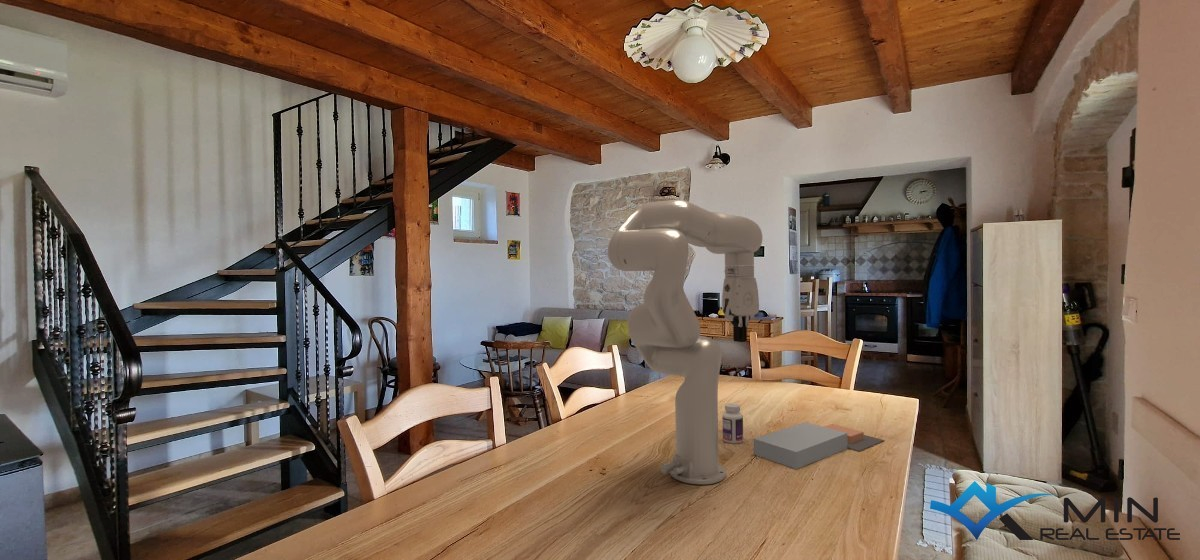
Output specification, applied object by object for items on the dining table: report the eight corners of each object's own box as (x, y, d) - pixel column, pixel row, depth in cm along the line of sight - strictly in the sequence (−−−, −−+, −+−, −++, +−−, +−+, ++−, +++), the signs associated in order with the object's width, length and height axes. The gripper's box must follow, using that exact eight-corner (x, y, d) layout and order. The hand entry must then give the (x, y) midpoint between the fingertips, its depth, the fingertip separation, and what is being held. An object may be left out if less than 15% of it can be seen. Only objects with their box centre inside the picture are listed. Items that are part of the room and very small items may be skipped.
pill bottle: (741, 437, 142) (740, 402, 141) (744, 444, 136) (744, 407, 136) (721, 437, 142) (720, 402, 142) (724, 443, 137) (723, 407, 137)
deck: (796, 469, 119) (796, 452, 119) (753, 454, 129) (753, 438, 129) (847, 448, 132) (847, 433, 131) (805, 436, 141) (805, 422, 141)
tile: (863, 432, 137) (863, 439, 137) (832, 423, 145) (832, 430, 145) (850, 436, 134) (850, 443, 134) (819, 427, 142) (819, 434, 142)
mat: (859, 451, 129) (859, 450, 129) (808, 437, 141) (808, 436, 141) (884, 441, 137) (884, 440, 137) (834, 428, 148) (834, 427, 148)
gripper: (731, 273, 130) (732, 345, 130) (768, 272, 138) (769, 340, 139) (709, 273, 136) (710, 342, 136) (746, 272, 144) (747, 337, 145)
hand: (740, 341), depth 137 cm, fingers closed
